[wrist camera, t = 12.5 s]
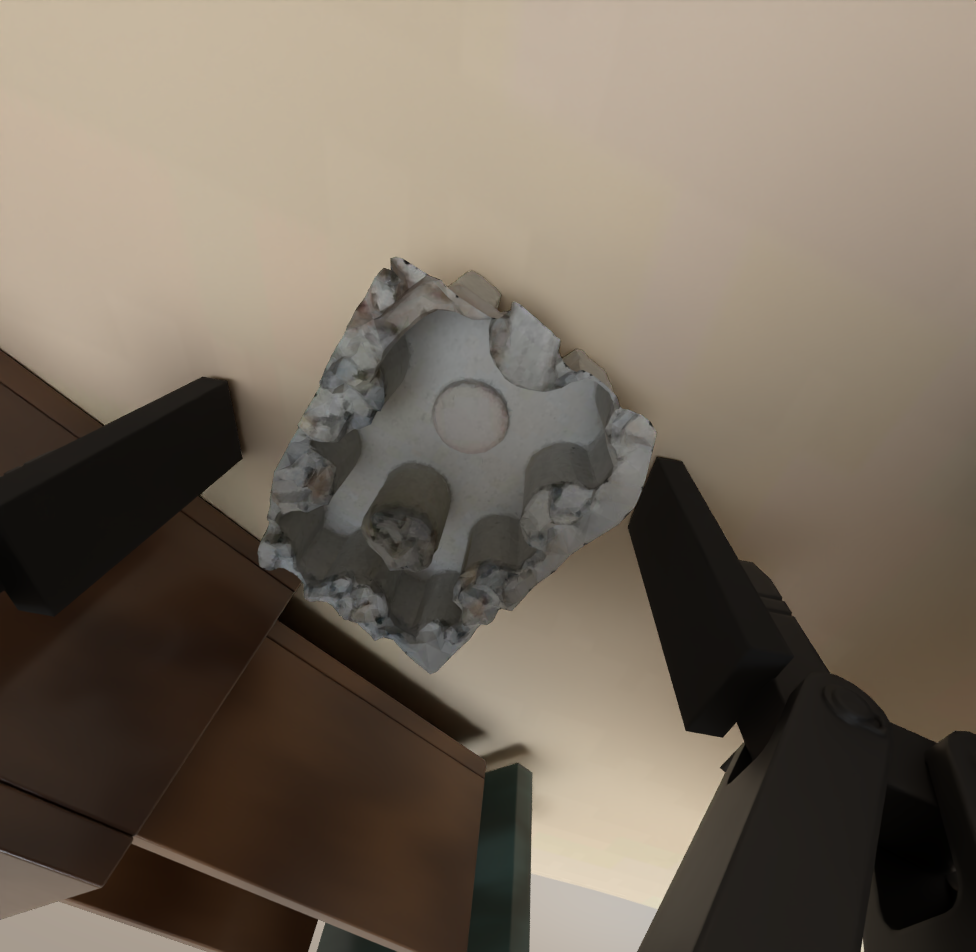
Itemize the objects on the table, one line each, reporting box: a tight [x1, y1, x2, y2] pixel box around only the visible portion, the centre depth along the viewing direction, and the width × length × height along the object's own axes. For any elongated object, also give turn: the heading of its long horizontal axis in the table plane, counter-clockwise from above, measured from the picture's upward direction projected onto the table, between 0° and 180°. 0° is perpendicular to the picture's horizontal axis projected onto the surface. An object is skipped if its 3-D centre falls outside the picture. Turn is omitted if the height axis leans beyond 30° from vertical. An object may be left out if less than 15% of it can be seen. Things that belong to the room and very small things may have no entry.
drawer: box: [59, 620, 532, 952], centre depth 19 cm, size 22×13×8 cm, turn 41°
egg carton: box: [257, 257, 657, 674], centre depth 12 cm, size 11×8×4 cm
